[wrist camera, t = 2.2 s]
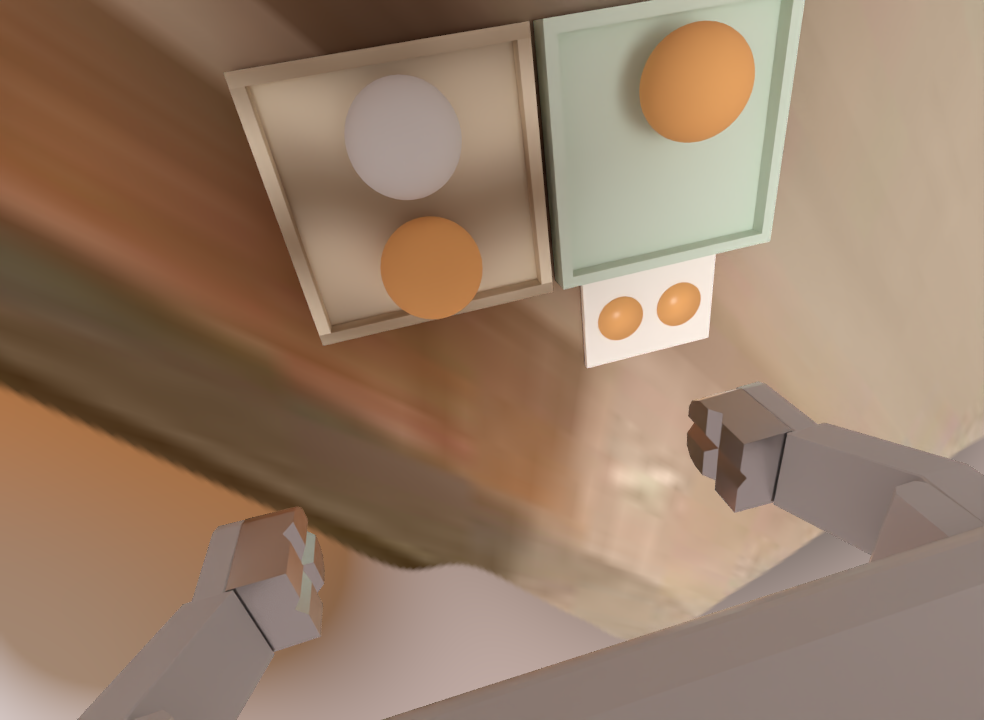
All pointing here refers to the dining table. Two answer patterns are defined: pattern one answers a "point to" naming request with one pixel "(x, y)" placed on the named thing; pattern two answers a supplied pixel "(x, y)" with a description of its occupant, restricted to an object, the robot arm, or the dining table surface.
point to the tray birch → (375, 217)
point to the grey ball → (403, 137)
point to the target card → (647, 310)
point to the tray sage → (656, 140)
